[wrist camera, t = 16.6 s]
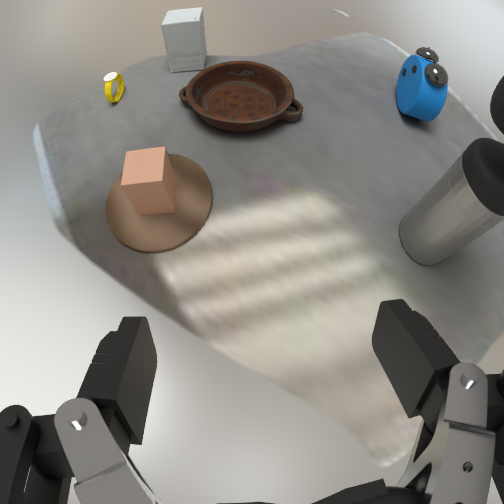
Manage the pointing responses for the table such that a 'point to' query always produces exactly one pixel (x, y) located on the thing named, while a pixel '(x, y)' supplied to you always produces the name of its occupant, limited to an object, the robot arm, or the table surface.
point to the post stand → (167, 224)
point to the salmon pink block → (149, 181)
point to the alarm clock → (422, 86)
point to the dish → (241, 96)
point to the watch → (108, 89)
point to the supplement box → (185, 39)
